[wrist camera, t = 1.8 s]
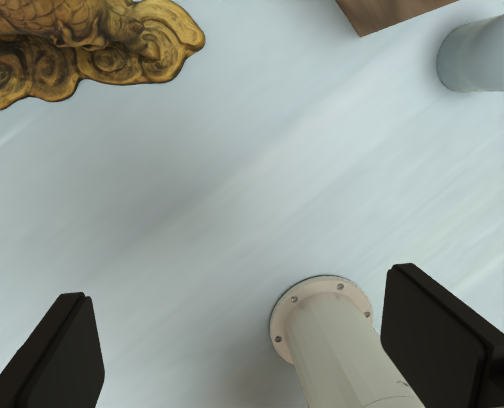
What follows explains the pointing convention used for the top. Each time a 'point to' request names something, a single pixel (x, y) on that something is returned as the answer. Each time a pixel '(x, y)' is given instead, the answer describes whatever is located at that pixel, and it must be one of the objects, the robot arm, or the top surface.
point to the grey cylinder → (473, 57)
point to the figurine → (90, 45)
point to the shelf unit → (385, 12)
